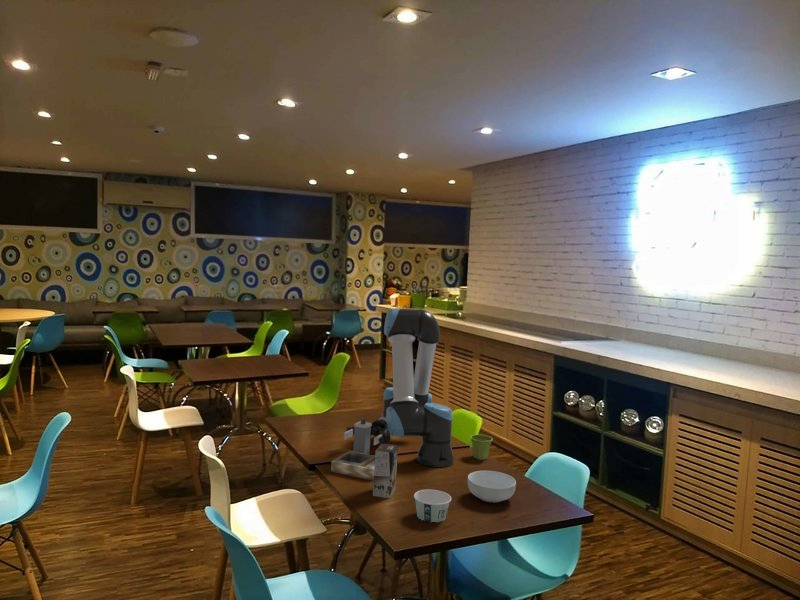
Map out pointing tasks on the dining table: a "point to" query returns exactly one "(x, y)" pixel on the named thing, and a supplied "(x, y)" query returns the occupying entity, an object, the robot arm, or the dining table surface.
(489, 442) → the plant pot
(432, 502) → the food container
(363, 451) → the grey pepper mill
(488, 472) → the cereal bowl
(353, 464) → the tray
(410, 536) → the dining table surface
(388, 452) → the coffee box
